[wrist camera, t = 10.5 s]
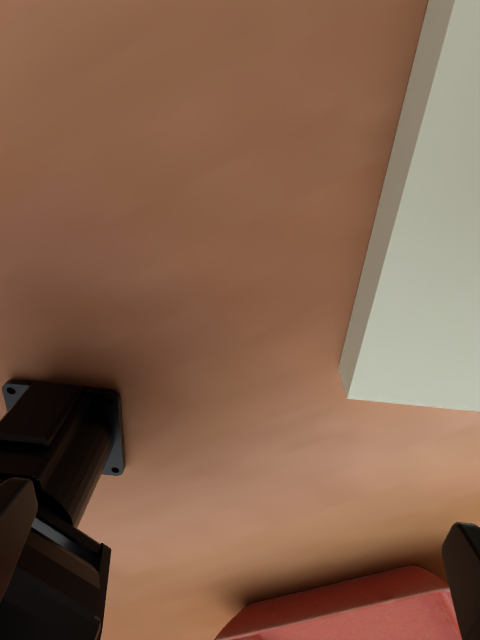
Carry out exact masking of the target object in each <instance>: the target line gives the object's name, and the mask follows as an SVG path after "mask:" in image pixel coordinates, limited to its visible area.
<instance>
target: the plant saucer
mask: <svg viewBox="0 0 480 640" xmlns="http://www.w3.org/2000/svg"><path fill="white" fill-rule="evenodd" d="M214 640H462V638H461V634H460V630H459V626H458V622H457V618H456V614H455V610H454V605H453V601H452V597H451V593H450V589H449V584H448V583H446V582H445V581H444V580H442V579H441V578H439V577H438V576H436V575H435V574H433V573H431V572H429V571H427V570H425V569H424V568H421V567H419V566H416V565H410V566H405V567H401V568H397V569H392V570H388V571H384V572H380V573H376V574H372V575H368V576H364V577H360V578H356V579H352V580H347V581H343V582H339V583H335V584H331V585H327V586H323V587H319V588H315V589H311V590H307V591H303V592H298V593H294V594H290V595H286V596H282V597H278V598H273V599H269V600H265V601H261V602H257V603H253V604H249V605H247V606H246V607H245V608H243V609H242V610H241V611H240V612H239V613H238V614H237V615H236V616H235V617H234V618H233V619H232V620H231V621H230V622H228V624H227V625H226V626H225V627H224V628H223V629H222V630H221V632H220V633H219V634H218V635H217V637H216V638H215V639H214Z"/></svg>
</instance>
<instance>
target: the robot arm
mask: <svg viewBox="0 0 480 640" xmlns="http://www.w3.org/2000/svg"><path fill="white" fill-rule="evenodd" d="M12 388H13V389H12ZM14 389H15V390H14ZM2 391H3V395H4V399H5V403H6V407H7V411H8V412H7V413H6V414H5V416H4V417H3V418H2V419H1V420H0V640H100V638H101V633H102V627H103V618H104V609H105V600H106V591H107V583H108V574H109V565H110V556H111V548H109V547H108V546H106V545H105V544H103V543H101V544H100V543H98V542H97V541H95V540H94V539H92V538H91V537H89V536H88V535H86V534H85V533H83V532H82V531H80V530H79V529H77V527H78V525H79V523H80V521H81V518H82V516H83V514H84V512H85V509H86V507H87V505H88V503H89V500H90V498H91V496H92V494H93V491H94V489H95V487H96V485H97V482H98V480H99V478H100V476H101V474H104V475H114V476H119V475H121V474H122V473H123V471H124V469H125V455H124V441H123V427H122V412H121V398H120V394H119V393H118V392H117V391H115V390H112V389H105V388H95V387H85V386H75V385H65V384H55V383H45V382H35V381H25V380H15V379H12V380H8V381H7V382H6V383H5V384H4V385H3V387H2ZM108 397H110V398H112V399H113V400H111V399H109V398H108ZM442 559H443V563H444V567H445V572H446V576H447V580H448V584H449V589H450V593H451V597H452V601H453V605H454V610H455V614H456V618H457V622H458V626H459V630H460V634H461V638H462V640H480V527H478V526H477V525H475V524H472V523H462V522H456V523H454V524H453V525H452V527H451V529H450V531H449V533H448V535H447V537H446V539H445V540H444V542H443V545H442Z"/></svg>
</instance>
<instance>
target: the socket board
mask: <svg viewBox="0 0 480 640" xmlns="http://www.w3.org/2000/svg"><path fill="white" fill-rule="evenodd" d="M338 370H339V373H340V376H341V380H342V383H343V386H344V390H345V393H346V396H347V399H357V400H367V401H377V402H387V403H397V404H407V405H417V406H427V407H437V408H447V409H457V410H467V411H477V412H480V0H429V1H428V5H427V9H426V13H425V17H424V21H423V25H422V29H421V33H420V38H419V42H418V46H417V50H416V54H415V58H414V62H413V66H412V70H411V74H410V78H409V82H408V86H407V90H406V94H405V99H404V103H403V107H402V111H401V115H400V119H399V123H398V127H397V131H396V135H395V139H394V143H393V147H392V151H391V155H390V160H389V164H388V168H387V172H386V176H385V180H384V184H383V188H382V192H381V196H380V200H379V204H378V208H377V212H376V216H375V221H374V225H373V229H372V233H371V237H370V241H369V245H368V249H367V253H366V257H365V261H364V265H363V269H362V273H361V277H360V282H359V286H358V290H357V294H356V298H355V302H354V306H353V310H352V314H351V318H350V322H349V326H348V330H347V334H346V338H345V343H344V347H343V351H342V355H341V359H340V363H339V367H338Z"/></svg>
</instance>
